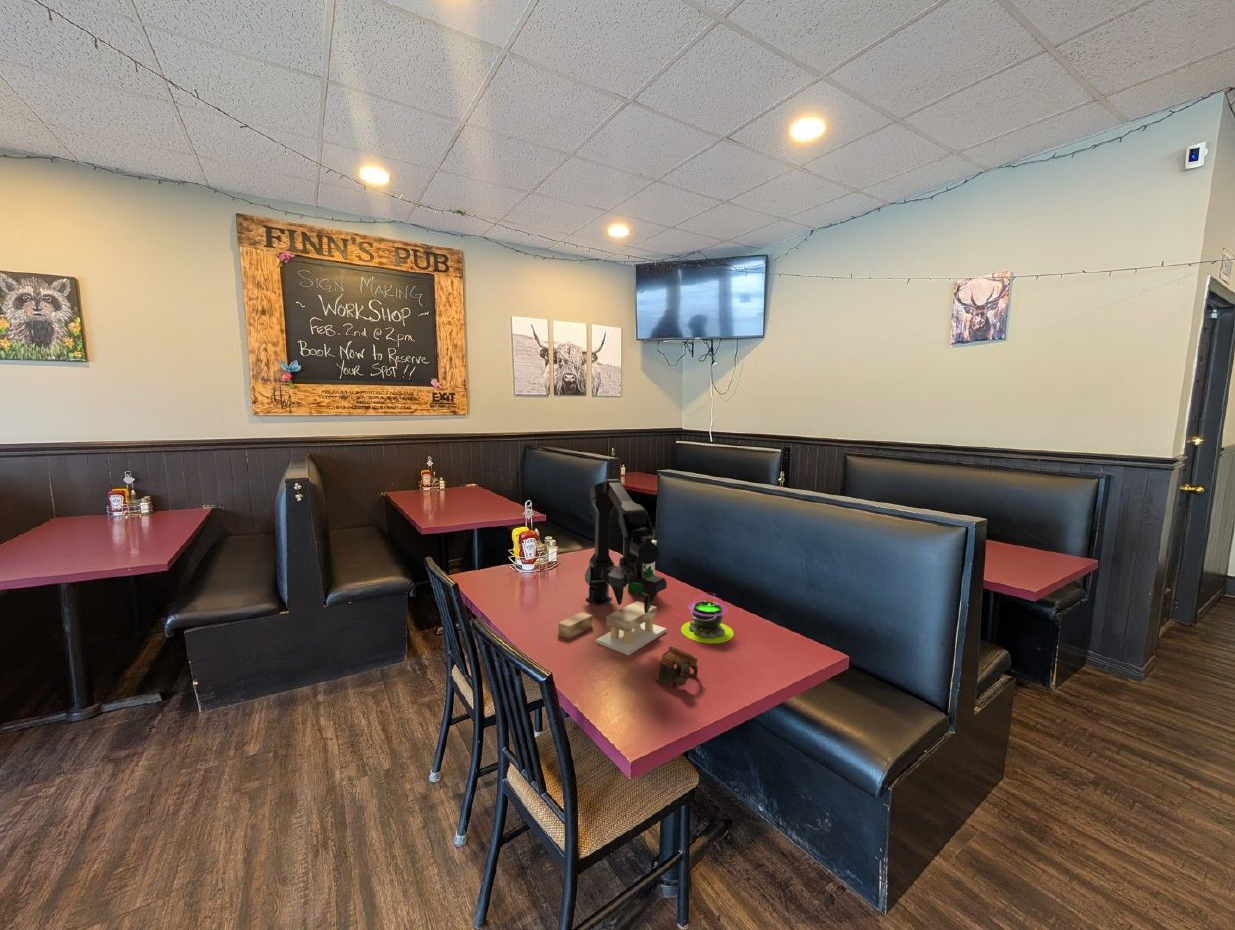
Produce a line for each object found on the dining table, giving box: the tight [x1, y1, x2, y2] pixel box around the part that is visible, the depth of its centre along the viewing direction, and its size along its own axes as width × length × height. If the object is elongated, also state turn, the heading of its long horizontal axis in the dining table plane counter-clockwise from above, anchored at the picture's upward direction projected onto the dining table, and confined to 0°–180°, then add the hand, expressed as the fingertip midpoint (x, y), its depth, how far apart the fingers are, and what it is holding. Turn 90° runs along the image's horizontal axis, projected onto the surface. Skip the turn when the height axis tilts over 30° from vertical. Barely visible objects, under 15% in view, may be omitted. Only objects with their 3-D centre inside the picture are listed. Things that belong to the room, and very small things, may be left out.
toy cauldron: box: [680, 592, 735, 644], centre depth 145 cm, size 15×15×11 cm
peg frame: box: [595, 617, 667, 656], centre depth 141 cm, size 18×11×5 cm, turn 142°
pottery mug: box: [655, 646, 699, 689], centre depth 119 cm, size 12×10×8 cm
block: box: [557, 611, 594, 640], centre depth 145 cm, size 10×4×4 cm, turn 142°
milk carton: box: [627, 539, 658, 597], centre depth 176 cm, size 9×9×20 cm
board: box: [605, 600, 658, 632], centre depth 141 cm, size 14×7×2 cm, turn 142°
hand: (632, 608), depth 140 cm, fingers open, 9 cm apart
